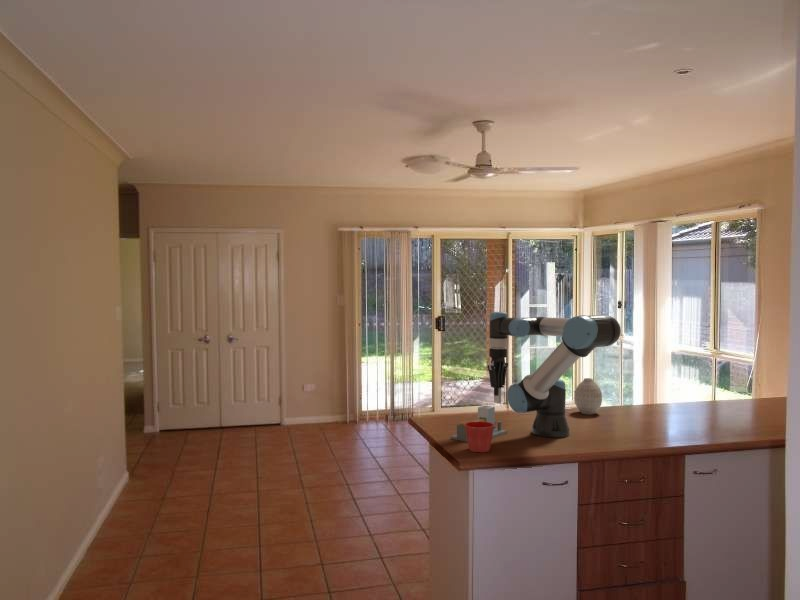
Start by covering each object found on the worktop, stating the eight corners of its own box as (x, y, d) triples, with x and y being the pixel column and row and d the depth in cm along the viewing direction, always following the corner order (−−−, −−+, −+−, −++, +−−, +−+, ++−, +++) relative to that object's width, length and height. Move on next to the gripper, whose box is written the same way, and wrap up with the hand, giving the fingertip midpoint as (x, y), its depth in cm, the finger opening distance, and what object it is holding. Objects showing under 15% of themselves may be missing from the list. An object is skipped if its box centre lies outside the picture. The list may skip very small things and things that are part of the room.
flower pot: (462, 446, 243) (462, 421, 243) (490, 445, 244) (490, 420, 244) (467, 453, 233) (467, 427, 232) (496, 453, 234) (496, 427, 233)
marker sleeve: (494, 426, 265) (494, 407, 265) (487, 428, 262) (488, 408, 261) (484, 424, 269) (484, 405, 269) (477, 426, 265) (477, 407, 265)
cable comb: (506, 433, 264) (507, 416, 264) (475, 443, 247) (475, 426, 247) (482, 428, 272) (482, 412, 272) (450, 438, 255) (450, 421, 255)
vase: (605, 416, 298) (605, 380, 298) (578, 415, 299) (578, 380, 298) (597, 410, 311) (597, 376, 311) (571, 410, 311) (571, 376, 311)
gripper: (498, 346, 279) (498, 399, 279) (482, 348, 269) (481, 403, 270) (513, 347, 274) (513, 401, 274) (497, 349, 264) (496, 406, 265)
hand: (497, 402), depth 272 cm, fingers closed
